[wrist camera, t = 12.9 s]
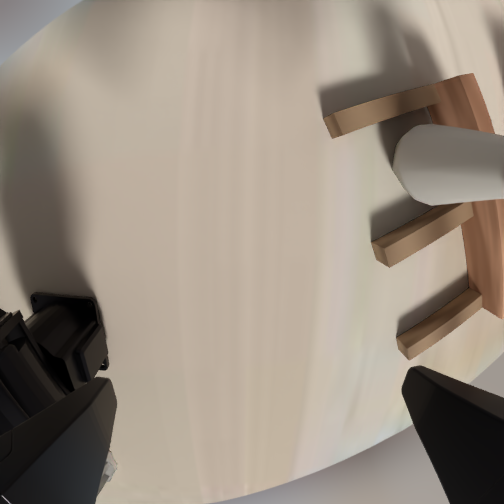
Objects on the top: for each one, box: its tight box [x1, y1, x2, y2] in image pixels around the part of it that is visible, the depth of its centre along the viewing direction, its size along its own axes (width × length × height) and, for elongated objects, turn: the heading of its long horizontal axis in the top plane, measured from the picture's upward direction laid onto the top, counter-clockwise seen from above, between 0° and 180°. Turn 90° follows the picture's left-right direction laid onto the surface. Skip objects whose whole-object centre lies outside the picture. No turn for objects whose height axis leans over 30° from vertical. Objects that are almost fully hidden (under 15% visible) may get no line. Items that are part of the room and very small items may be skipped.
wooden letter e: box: [324, 73, 504, 360], centre depth 18 cm, size 12×20×5 cm, turn 25°
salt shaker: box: [392, 124, 504, 206], centre depth 13 cm, size 6×6×13 cm
